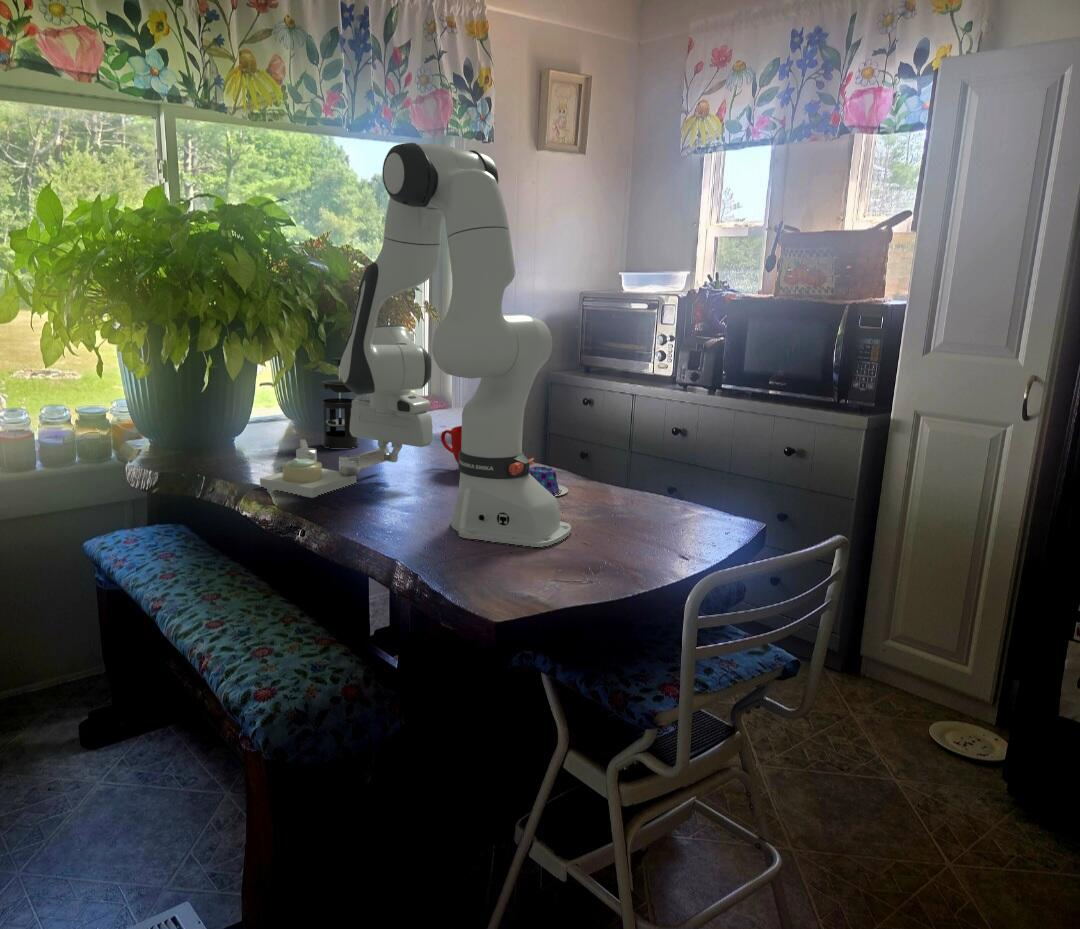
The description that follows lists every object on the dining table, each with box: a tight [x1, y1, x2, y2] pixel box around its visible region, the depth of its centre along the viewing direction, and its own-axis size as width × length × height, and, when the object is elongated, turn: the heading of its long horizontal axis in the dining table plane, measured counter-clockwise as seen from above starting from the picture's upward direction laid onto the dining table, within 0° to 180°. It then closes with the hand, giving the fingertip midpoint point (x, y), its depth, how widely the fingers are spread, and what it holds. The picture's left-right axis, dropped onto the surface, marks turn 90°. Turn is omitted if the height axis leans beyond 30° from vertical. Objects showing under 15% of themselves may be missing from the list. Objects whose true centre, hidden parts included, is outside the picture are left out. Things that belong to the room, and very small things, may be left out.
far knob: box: [295, 438, 318, 461], centre depth 185 cm, size 15×4×4 cm, turn 20°
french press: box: [321, 357, 360, 448], centre depth 210 cm, size 12×9×23 cm
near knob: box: [338, 447, 386, 476], centre depth 179 cm, size 15×4×4 cm, turn 154°
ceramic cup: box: [440, 425, 462, 464], centre depth 191 cm, size 13×17×10 cm
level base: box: [259, 457, 357, 499], centre depth 172 cm, size 14×14×6 cm
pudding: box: [529, 466, 569, 497], centre depth 176 cm, size 12×12×5 cm
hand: (390, 461), depth 180 cm, fingers closed
